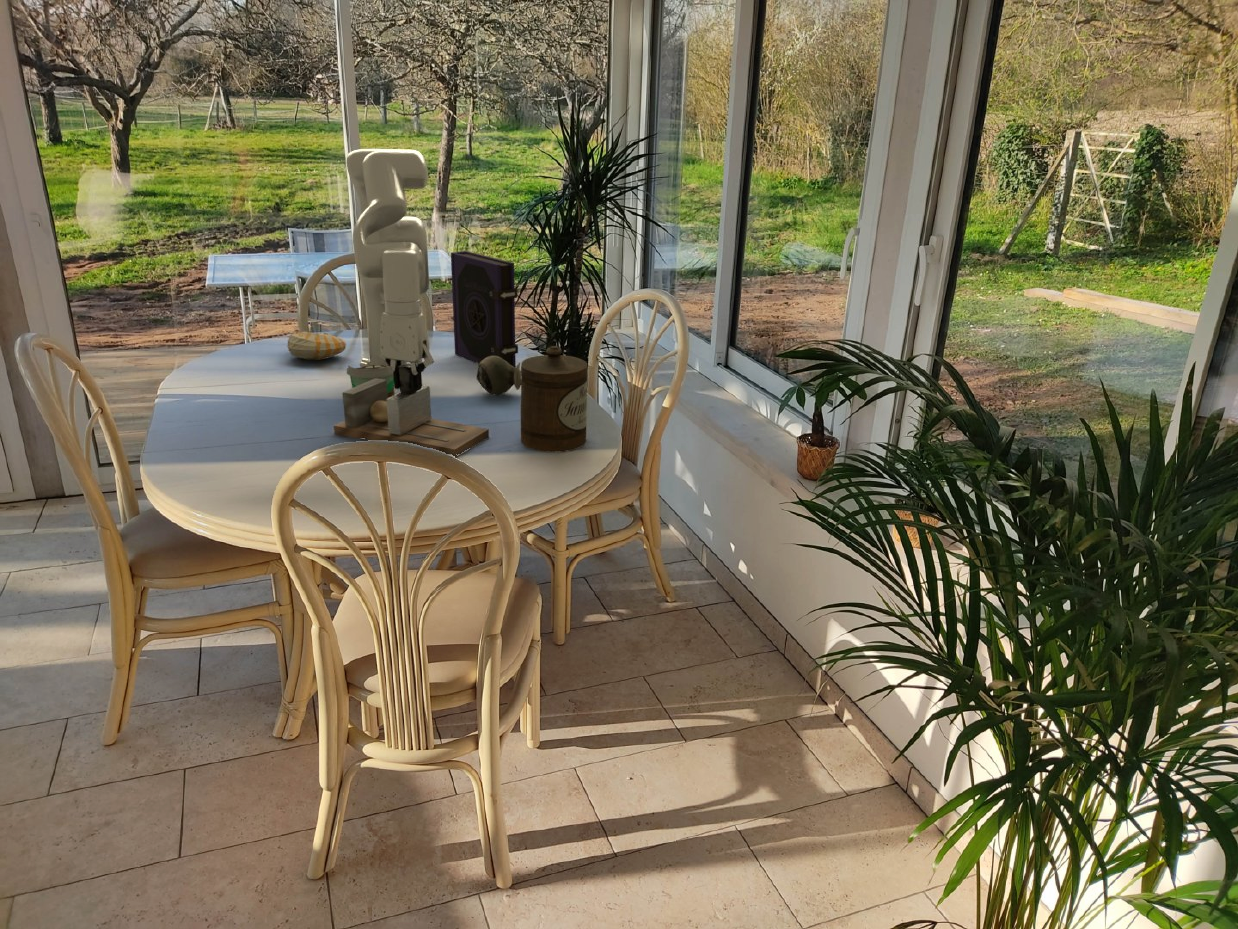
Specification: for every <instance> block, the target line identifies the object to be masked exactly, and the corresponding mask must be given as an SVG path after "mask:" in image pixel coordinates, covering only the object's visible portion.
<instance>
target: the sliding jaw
mask: <svg viewBox="0 0 1238 929" xmlns="http://www.w3.org/2000/svg"><path fill="white" fill-rule="evenodd" d="M398 368H399V383H400V388H399V393H396V394H394V396H392V397H389V398H387V399H386V400H387V413H388V427H389V433H390V434H395V435H402V434H404V433H406V432H408V431H410V430H412V429H414V428H415V427H417V426H419V425H421V424H423V423H425V422H427V421H429V420H431V419H432V408H431V407H432V406H431V404H432V403H431V392H430V391H431V390H430V389H431V388H430V387H431V386H430V385H426V384H422V388H421V389H420V390H418V391H416V392H412V391H411V382H410V375H411V374H413V373H412V369H411V364H410V363H407V364H403V365H399V366H398Z"/></svg>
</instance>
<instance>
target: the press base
mask: <svg viewBox="0 0 1238 929" xmlns="http://www.w3.org/2000/svg"><path fill="white" fill-rule="evenodd" d="M341 394H342V402H343V403H342V404H343V411H344V412H343V413H344V414H343V415H344V420H342V421H341V422H339V423H336V424H334V425H333V431H334V433H333V434H334V435H339V436H343V437H349V438H353V439H358V438H365V439H362V440H363V441H368V440H388V441H399V442H408V443H413V444H417V445H420V446H423V447H427V448H433V449H436V450H439V451H442V452H445V453H446V454H452V455H453V456H455V457H456V458H458V457H459V456H457V455H458V454H461V453H462V452H464V451H465V450H467V449H469V448H471V449H473V448H474V447H475V445H476V446H477V445H479V444H481V443H482V442H484V441H485V440H487V439H489V438H490V435H489V434H490V432H489V431H490V430H489V428H485V427H484V428H483V427H478V426H474V425H473V426H472V425H468V424H463V423H458V422H452V421H446V420H440V419H435V418H431V420H429V421H427V422H425V423H423V424H421V425H419V426H417V427H415V428H414V429H412V430H410V431H408V432H406V433H404V434H402V435H395V434H390V433H389V427H388V421H386V422H377V421H375V420H374V419H373V418H372V417H371V415H370V408H371V406H372V404H373V403H375V402H376V401H386V402H387V400H386V399H387V398H388V393H387V380H384V379H378V378H375V379H373V380H370V381H368V382H366V383H363V384H361V385H358V386H356V387H354V388H352V387H351V388H349V389H346V390H344V391H342V393H341ZM480 442H481V443H480ZM478 443H479V444H478ZM469 450H470V449H469ZM464 453H465V452H464ZM456 454H457V455H456ZM461 455H462V454H461Z"/></svg>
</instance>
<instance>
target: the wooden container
mask: <svg viewBox="0 0 1238 929" xmlns="http://www.w3.org/2000/svg"><path fill="white" fill-rule="evenodd" d="M562 352H563V351H562V348H561V347H559V346H558V345H551V346H549V347H548V348H546V350H545V353H546V354H544V355H543V354H542V355H535V356H531V357H528V358H525V359H524V360H522V362H521V363H520V371H521V386H520V441H521V444H522V445H523V446H525V447H527V448H529V449H531V450H535V451H539V452H545V453H547V452H548V453H563V452H568V451H569V452H571V451H572V450H576V449H579V448H581V447H582V446H584V445H585V444H586V442H587V423H588V422H587V421H588V420H587V418H588V417H587V416H588V414H587V413H588V363H587V362H586V361H585V360H584V359H582V358H579V357H576V356H571V355H562Z"/></svg>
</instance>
